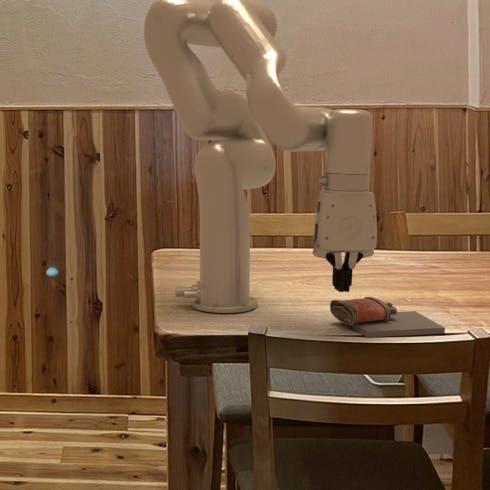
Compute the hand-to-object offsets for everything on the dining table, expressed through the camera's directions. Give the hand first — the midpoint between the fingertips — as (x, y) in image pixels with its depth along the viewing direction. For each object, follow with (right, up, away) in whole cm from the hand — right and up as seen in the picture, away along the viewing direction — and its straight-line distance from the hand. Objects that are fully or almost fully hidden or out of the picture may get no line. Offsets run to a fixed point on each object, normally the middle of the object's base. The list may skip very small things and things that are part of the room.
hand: (341, 290), depth 137 cm
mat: (+9, -7, +3) cm, 12 cm away
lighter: (0, -4, +1) cm, 4 cm away
